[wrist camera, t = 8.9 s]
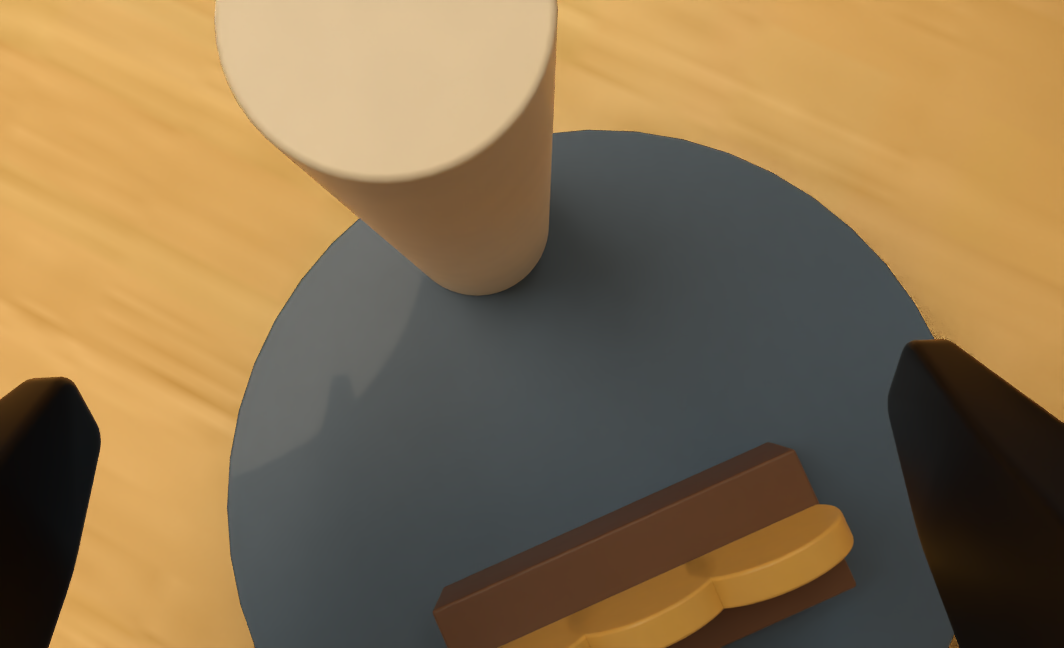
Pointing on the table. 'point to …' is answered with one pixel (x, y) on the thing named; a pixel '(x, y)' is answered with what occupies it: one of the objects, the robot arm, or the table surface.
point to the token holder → (554, 367)
